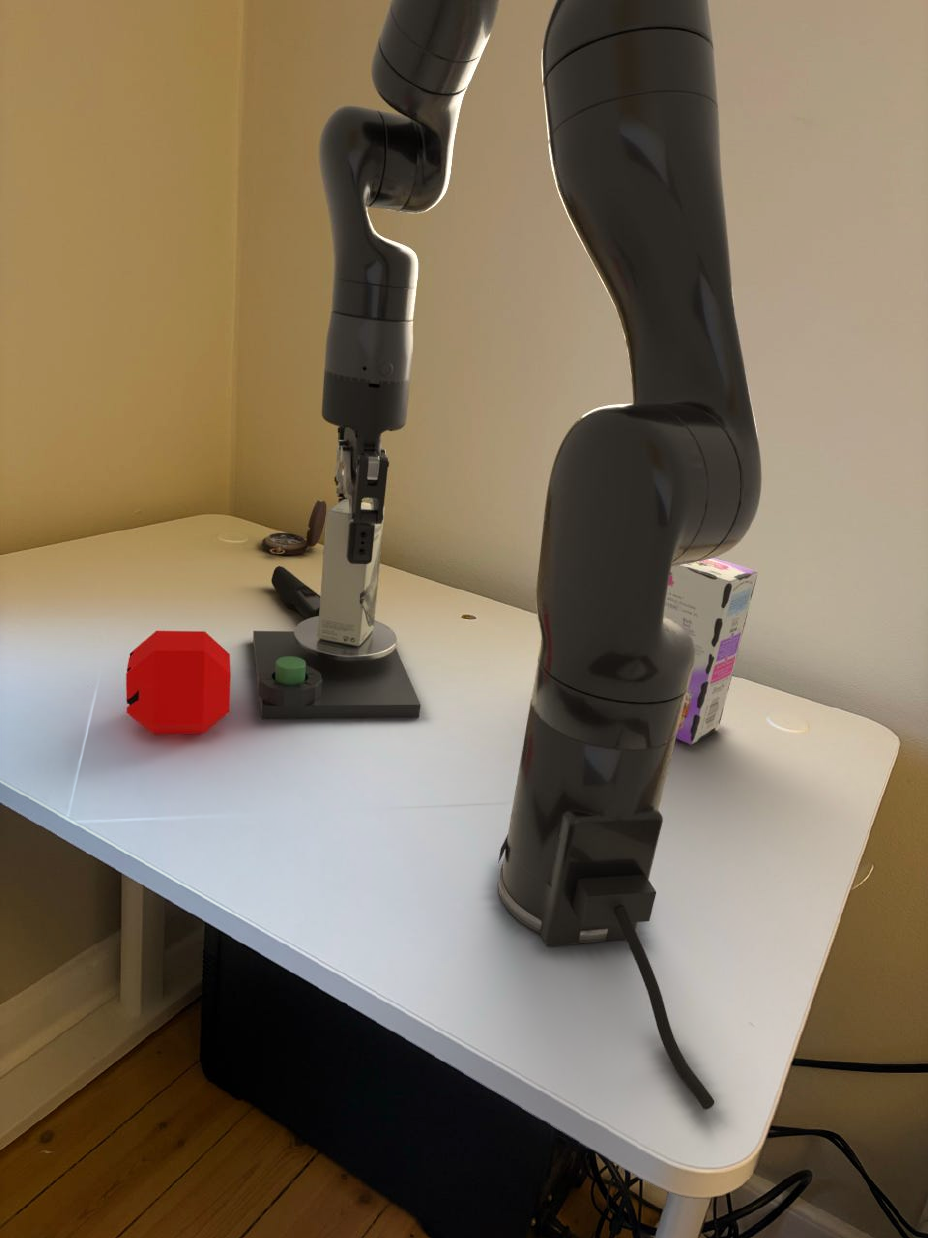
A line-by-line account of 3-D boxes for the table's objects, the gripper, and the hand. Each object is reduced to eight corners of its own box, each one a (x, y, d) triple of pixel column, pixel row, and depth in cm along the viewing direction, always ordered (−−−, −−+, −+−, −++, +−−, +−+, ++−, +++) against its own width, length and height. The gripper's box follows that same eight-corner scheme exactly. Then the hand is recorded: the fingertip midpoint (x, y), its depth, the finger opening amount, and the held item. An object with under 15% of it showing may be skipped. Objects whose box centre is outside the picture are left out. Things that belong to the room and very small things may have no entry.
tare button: (306, 686, 81) (307, 668, 80) (276, 687, 80) (277, 668, 79) (303, 673, 83) (304, 656, 82) (274, 673, 82) (274, 655, 81)
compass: (269, 538, 125) (271, 486, 122) (326, 547, 124) (330, 495, 122) (250, 556, 117) (252, 501, 115) (311, 565, 117) (314, 510, 114)
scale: (419, 719, 83) (423, 690, 82) (258, 721, 79) (260, 691, 78) (388, 644, 97) (390, 618, 96) (250, 643, 93) (251, 616, 92)
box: (359, 649, 87) (371, 518, 82) (315, 640, 87) (324, 510, 83) (375, 629, 92) (387, 504, 87) (333, 620, 92) (343, 496, 87)
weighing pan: (405, 662, 87) (405, 656, 87) (298, 661, 84) (298, 655, 84) (386, 620, 96) (387, 614, 96) (289, 618, 93) (289, 613, 93)
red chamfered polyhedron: (132, 701, 80) (131, 620, 77) (227, 700, 82) (229, 621, 79) (124, 748, 73) (123, 661, 70) (229, 746, 75) (231, 662, 72)
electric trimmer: (293, 588, 110) (295, 563, 108) (349, 637, 98) (351, 610, 97) (263, 591, 108) (264, 565, 106) (316, 642, 96) (318, 613, 95)
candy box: (720, 730, 89) (762, 570, 82) (690, 748, 84) (731, 581, 78) (604, 676, 97) (634, 526, 91) (570, 690, 93) (599, 534, 86)
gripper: (316, 353, 86) (305, 524, 92) (335, 379, 73) (321, 574, 79) (395, 361, 88) (379, 527, 94) (427, 387, 75) (406, 577, 81)
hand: (353, 548), depth 86 cm, fingers open, 7 cm apart
